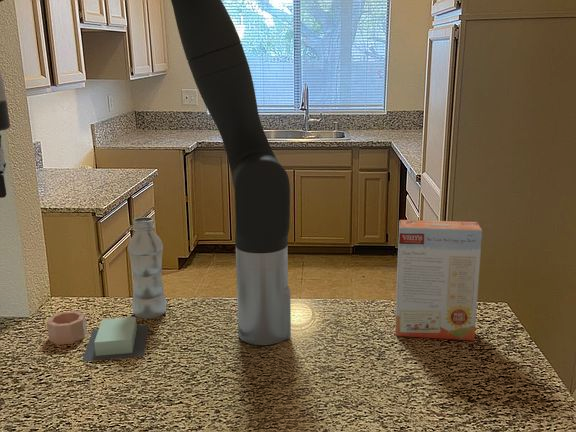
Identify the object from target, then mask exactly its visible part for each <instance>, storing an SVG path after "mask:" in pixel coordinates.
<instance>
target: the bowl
mask: <svg viewBox="0 0 576 432" xmlns="http://www.w3.org/2000/svg"><path fill="white" fill-rule="evenodd" d="M46 328H47V334H48V341H49V342H50V343H53V344H54V345H57V346H58V345H59V346H61V345H68V344H71V345H72V344H74V343H77V342H79V341H82V340H84V339H86V334H87V332H88V330H87V322H86V313H84V312H80V311H78V310H69V311H67V310H66V311H61V312H59V313H56V314H54V315H53V314H52V315H51V316H49V318H48V320H47V322H46Z"/></svg>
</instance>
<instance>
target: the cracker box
mask: <svg viewBox="0 0 576 432" xmlns="http://www.w3.org/2000/svg"><path fill="white" fill-rule="evenodd" d="M482 239H483V229H482V228H481V226H480V225H479V223H478V221H455V220H454V221H451V220H449V221H448V220H420V219H418V220H417V219H415V220H414V219H400V220H399V221H398V240H397V241H398V242H397V243H398V244H397V245H398V247H397V265H396V266H397V267H396V268H397V269H396V292H395V293H396V294H395V295H396V299H395V337H396V336H397V337H407V338H408V337H409V338H410V337H411V338H412V337H413V338H425V339H443V340H457V341H458V340H459V341H470V342H471V341H475V335H476V334H475V333H476V324H477V323H476V321H477V310H478V309H477V307H478V296H479V295H478V294H479V283H480V281H479V279H480V267H481V254H482V253H481V252H482Z"/></svg>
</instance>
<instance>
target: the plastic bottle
mask: <svg viewBox="0 0 576 432" xmlns="http://www.w3.org/2000/svg"><path fill="white" fill-rule="evenodd" d="M132 223H133V227H132V228H133V231H134V233H133V235H132V236H131V238H130V240H129V241H128V245H127V251H128V255H129V260H130V264H131V271H132V280H133V283H132V284H133V289H132V290H133V291H132V292H133V293H132V299H131V309H132V311H133V315H135V316H134V317H136V318H139V319H148V320H149V319H154V318H155V319H156V318H158V317H161V316H163V315H164V314H165V313H166V310H167V304H168V303H167V297H166V294H165V292H164V290H165V289H164V286H163V285H164V284H163V283H164V282H163V276H162V275H163V273H162V269H163V268H162V266H163V264H162V261H163V252H164V244H163V242H162V239H161V238H160V237H159V235H158V234H157V233H156V232H155V231H154V230H155V223H154V218H153V217H147V216H144V217H143V216H142V217H137V218H134V219H133V221H132Z"/></svg>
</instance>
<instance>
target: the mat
mask: <svg viewBox="0 0 576 432" xmlns="http://www.w3.org/2000/svg"><path fill="white" fill-rule="evenodd" d="M148 329H149V324H141V325H137V331H136V336H135V342H134V347H133V353H123V354H112V355H101V356H96V354H95V344H94V342H95V339H96V336H97V333H98V330H99V328H93V329H92V331H91V334H90V337H89V340H88V342H87V346H86V348H85V351H84V353H83V357H82V358H81V359H82V360H81V363H84V362H95V361H105V360H117V359H127V358H138V357H140V358H141V357H145V353H146V351H145V350H146V346H147V345H146V344H147V337H148V331H149V330H148Z"/></svg>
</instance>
